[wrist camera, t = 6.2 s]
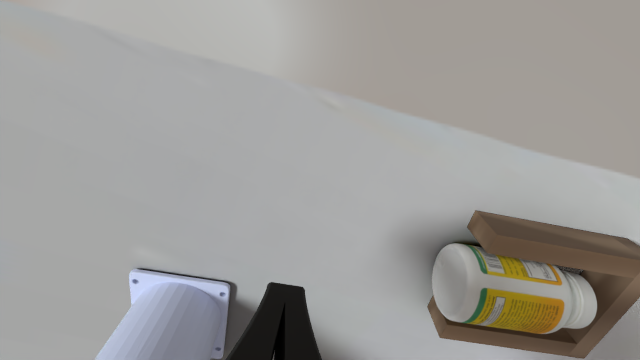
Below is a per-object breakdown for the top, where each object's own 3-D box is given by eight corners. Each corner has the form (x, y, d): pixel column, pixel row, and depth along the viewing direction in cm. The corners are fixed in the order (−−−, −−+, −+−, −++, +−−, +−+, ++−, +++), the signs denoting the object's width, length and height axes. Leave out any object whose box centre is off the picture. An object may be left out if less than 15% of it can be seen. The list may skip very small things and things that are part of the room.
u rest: (557, 326, 27) (583, 358, 25) (427, 306, 26) (439, 337, 23) (627, 238, 23) (668, 265, 20) (475, 210, 22) (497, 235, 19)
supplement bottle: (467, 236, 20) (598, 256, 21) (429, 248, 25) (536, 264, 26) (472, 325, 18) (618, 344, 19) (430, 319, 23) (546, 334, 24)
